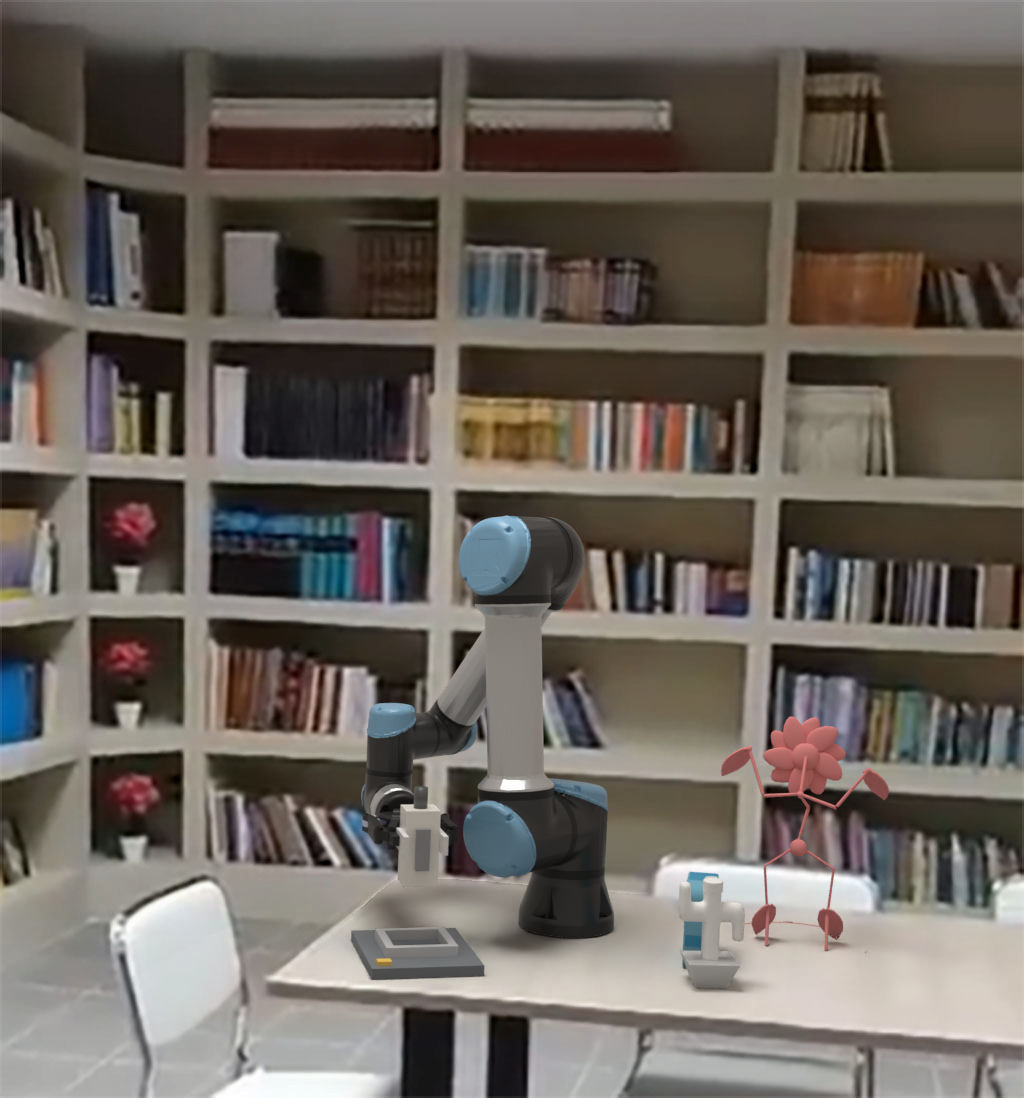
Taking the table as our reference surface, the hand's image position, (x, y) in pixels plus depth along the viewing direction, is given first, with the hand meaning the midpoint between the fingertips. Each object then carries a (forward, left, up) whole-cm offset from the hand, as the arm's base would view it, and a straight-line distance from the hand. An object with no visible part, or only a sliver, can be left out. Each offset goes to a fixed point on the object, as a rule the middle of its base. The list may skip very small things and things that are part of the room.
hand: (426, 846), depth 236 cm
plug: (0, -5, -6) cm, 8 cm away
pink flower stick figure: (-62, -10, -18) cm, 65 cm away
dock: (0, -5, -17) cm, 18 cm away
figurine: (-39, +12, -18) cm, 44 cm away
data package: (-42, 0, -18) cm, 46 cm away
